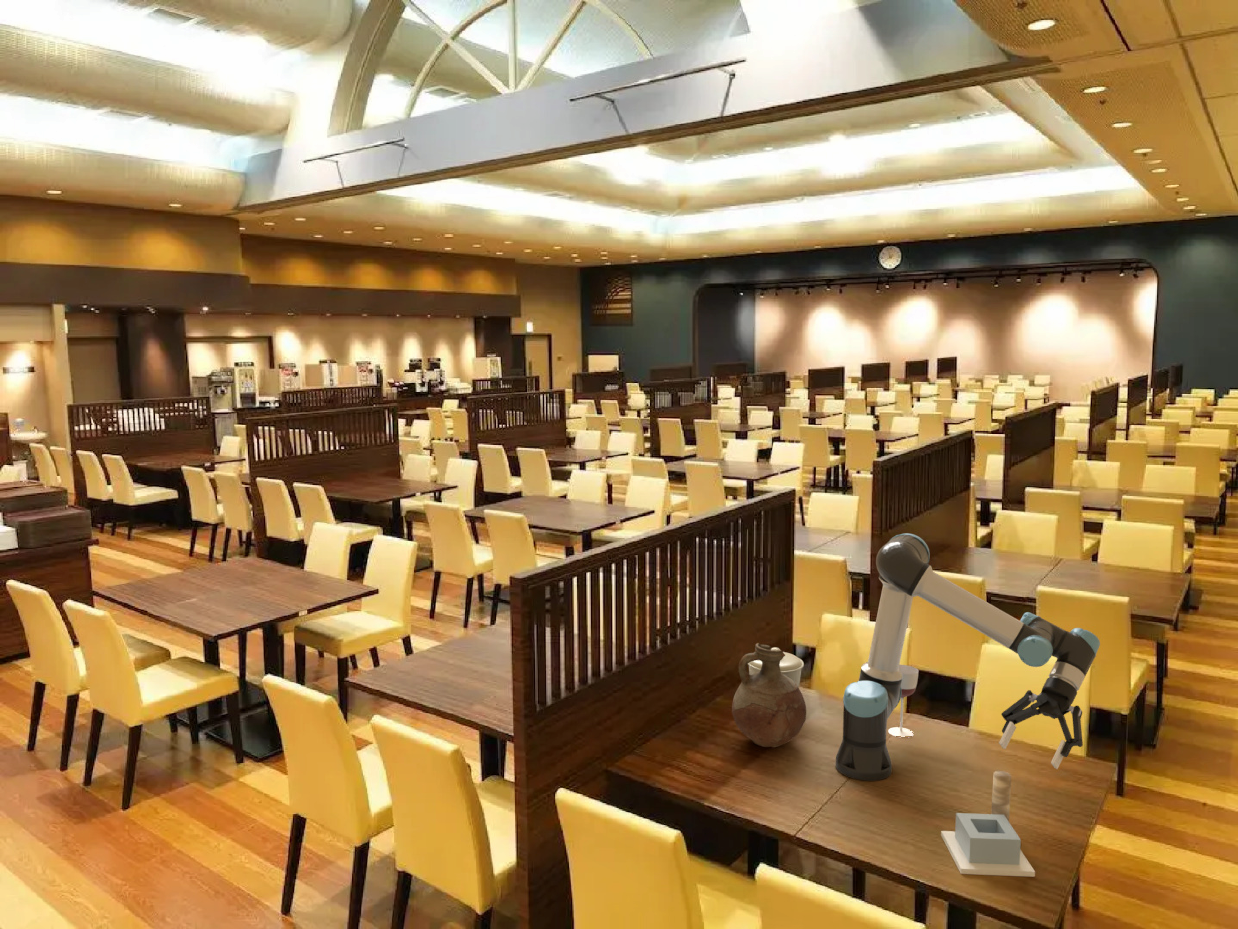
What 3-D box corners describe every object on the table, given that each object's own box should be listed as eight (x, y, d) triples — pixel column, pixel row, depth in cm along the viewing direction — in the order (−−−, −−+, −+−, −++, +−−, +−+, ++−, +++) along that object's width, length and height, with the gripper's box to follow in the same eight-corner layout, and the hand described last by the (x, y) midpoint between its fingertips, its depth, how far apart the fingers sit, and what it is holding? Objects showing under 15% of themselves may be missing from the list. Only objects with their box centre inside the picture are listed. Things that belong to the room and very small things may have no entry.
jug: (818, 753, 262) (821, 653, 258) (750, 763, 256) (751, 661, 252) (784, 723, 282) (786, 630, 278) (720, 732, 276) (721, 637, 272)
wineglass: (891, 724, 282) (893, 662, 279) (919, 731, 276) (922, 668, 274) (882, 733, 275) (884, 670, 273) (910, 740, 270) (913, 676, 267)
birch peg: (993, 833, 219) (996, 778, 217) (988, 824, 223) (991, 770, 221) (1010, 833, 218) (1013, 779, 217) (1005, 825, 222) (1008, 771, 221)
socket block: (960, 874, 202) (962, 843, 201) (941, 835, 218) (942, 807, 217) (1034, 876, 201) (1036, 846, 200) (1009, 838, 217) (1011, 809, 216)
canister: (813, 710, 293) (815, 647, 290) (782, 727, 280) (783, 661, 277) (766, 695, 305) (767, 635, 302) (734, 711, 292) (735, 648, 289)
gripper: (1117, 707, 223) (1082, 782, 216) (1021, 677, 243) (987, 745, 236) (1108, 691, 219) (1072, 767, 213) (1011, 663, 239) (976, 731, 233)
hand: (1027, 756), depth 224 cm, fingers open, 13 cm apart
